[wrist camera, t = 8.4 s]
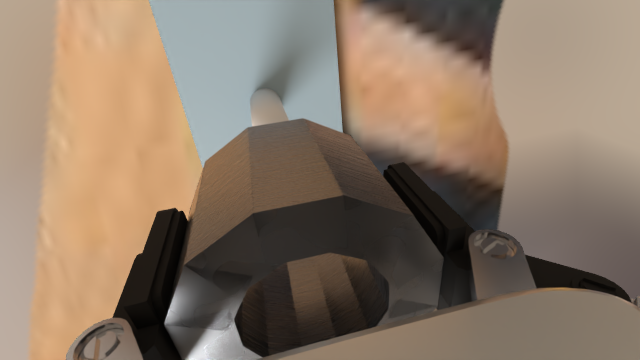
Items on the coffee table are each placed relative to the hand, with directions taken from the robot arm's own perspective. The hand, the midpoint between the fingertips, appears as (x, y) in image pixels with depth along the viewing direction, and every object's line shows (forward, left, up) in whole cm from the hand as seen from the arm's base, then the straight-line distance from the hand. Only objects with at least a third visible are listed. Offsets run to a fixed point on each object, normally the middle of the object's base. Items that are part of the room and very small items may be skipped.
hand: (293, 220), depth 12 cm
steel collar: (0, 0, -1) cm, 1 cm away
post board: (0, 0, -17) cm, 17 cm away
